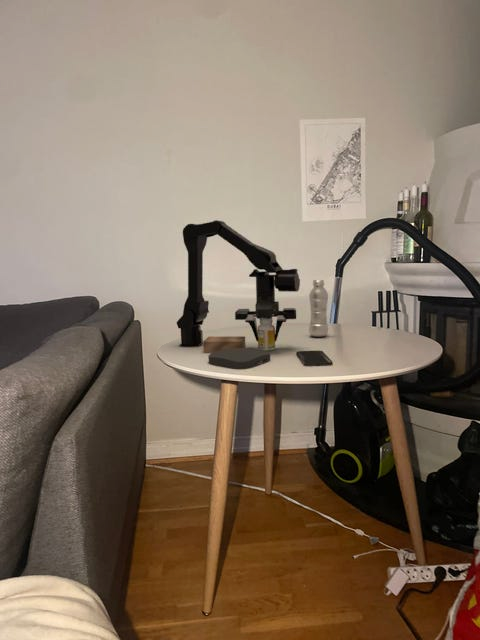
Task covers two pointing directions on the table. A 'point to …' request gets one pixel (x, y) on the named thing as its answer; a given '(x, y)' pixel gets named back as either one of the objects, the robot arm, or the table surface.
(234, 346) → the block
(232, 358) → the media streaming box
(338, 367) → the table surface
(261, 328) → the supplement bottle
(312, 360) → the phone
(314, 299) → the plastic bottle
